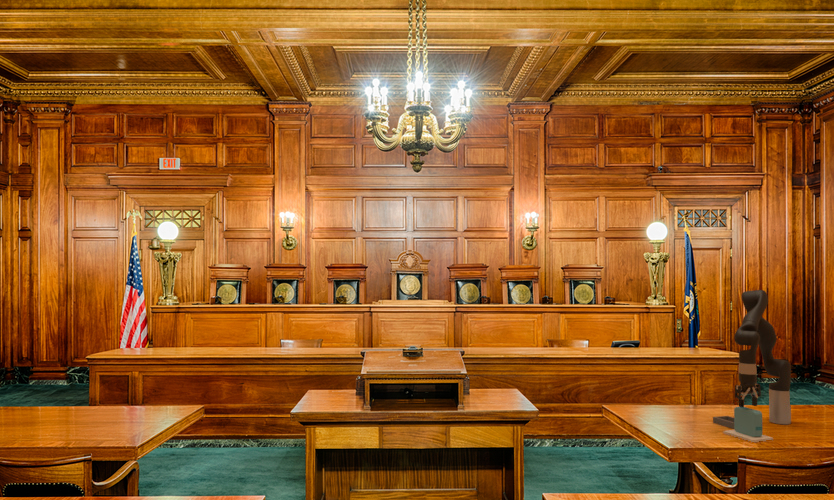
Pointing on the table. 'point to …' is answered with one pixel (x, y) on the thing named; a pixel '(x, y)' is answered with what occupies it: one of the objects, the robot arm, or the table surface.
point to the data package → (748, 421)
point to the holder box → (724, 421)
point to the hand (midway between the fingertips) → (748, 406)
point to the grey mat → (746, 437)
